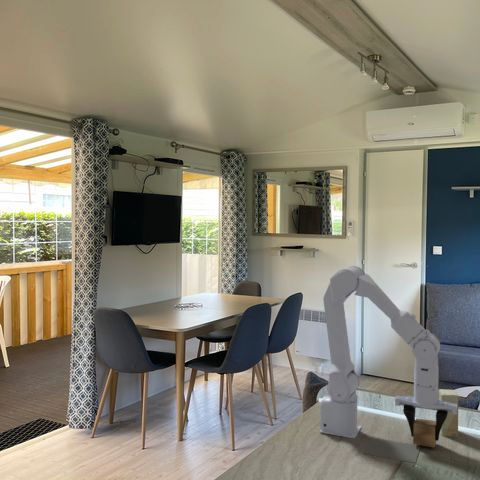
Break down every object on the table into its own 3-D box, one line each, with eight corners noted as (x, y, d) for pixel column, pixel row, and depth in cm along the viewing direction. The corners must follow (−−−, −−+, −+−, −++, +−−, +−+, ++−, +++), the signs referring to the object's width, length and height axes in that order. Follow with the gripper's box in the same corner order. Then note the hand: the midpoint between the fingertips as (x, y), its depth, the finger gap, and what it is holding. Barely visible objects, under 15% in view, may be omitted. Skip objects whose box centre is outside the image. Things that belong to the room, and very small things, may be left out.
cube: (413, 443, 134) (413, 423, 134) (415, 437, 139) (416, 417, 139) (434, 447, 132) (435, 427, 132) (436, 440, 137) (436, 421, 137)
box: (458, 437, 141) (459, 395, 140) (440, 436, 142) (441, 394, 141) (454, 429, 146) (455, 389, 145) (437, 428, 147) (438, 388, 146)
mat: (363, 454, 131) (363, 453, 131) (372, 439, 140) (372, 437, 140) (415, 464, 126) (415, 462, 126) (420, 447, 135) (420, 445, 135)
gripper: (458, 382, 136) (457, 436, 136) (398, 375, 142) (397, 426, 142) (456, 391, 129) (455, 447, 130) (394, 383, 135) (393, 436, 136)
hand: (425, 437), depth 136 cm, fingers closed on cube, 5 cm apart
